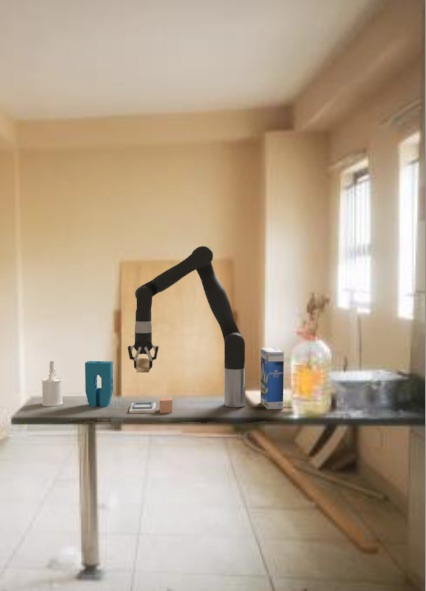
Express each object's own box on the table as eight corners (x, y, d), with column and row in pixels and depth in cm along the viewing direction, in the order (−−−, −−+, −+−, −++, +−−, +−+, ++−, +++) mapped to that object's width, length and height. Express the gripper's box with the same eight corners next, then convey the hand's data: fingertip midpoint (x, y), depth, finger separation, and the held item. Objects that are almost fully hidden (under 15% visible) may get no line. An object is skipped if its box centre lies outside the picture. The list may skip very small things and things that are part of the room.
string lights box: (260, 402, 244) (260, 347, 243) (275, 401, 246) (275, 347, 244) (267, 409, 231) (268, 352, 230) (284, 408, 233) (284, 351, 231)
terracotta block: (172, 409, 232) (172, 397, 232) (172, 412, 227) (172, 400, 227) (160, 409, 232) (160, 397, 232) (159, 413, 227) (159, 400, 226)
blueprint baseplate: (156, 405, 240) (156, 400, 240) (154, 412, 227) (154, 408, 227) (132, 405, 239) (132, 401, 239) (129, 413, 226) (129, 408, 226)
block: (113, 404, 242) (113, 361, 241) (110, 406, 237) (110, 363, 236) (88, 403, 243) (88, 361, 242) (85, 406, 238) (84, 362, 237)
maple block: (149, 370, 235) (149, 358, 235) (148, 372, 230) (149, 360, 230) (137, 370, 235) (137, 358, 235) (136, 372, 230) (136, 360, 229)
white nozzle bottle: (42, 402, 245) (41, 360, 244) (62, 401, 248) (62, 359, 247) (41, 408, 235) (41, 364, 234) (63, 406, 238) (62, 362, 237)
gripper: (159, 330, 236) (159, 367, 237) (128, 330, 235) (127, 367, 236) (159, 332, 228) (158, 370, 229) (126, 332, 227) (125, 370, 228)
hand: (143, 368), depth 232 cm, fingers closed on maple block, 5 cm apart
